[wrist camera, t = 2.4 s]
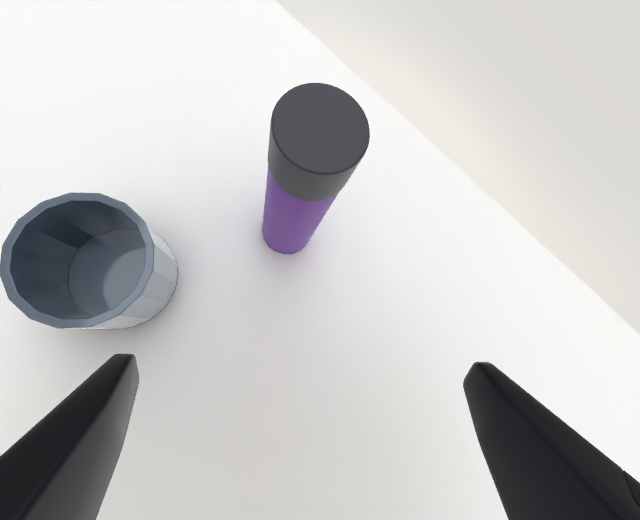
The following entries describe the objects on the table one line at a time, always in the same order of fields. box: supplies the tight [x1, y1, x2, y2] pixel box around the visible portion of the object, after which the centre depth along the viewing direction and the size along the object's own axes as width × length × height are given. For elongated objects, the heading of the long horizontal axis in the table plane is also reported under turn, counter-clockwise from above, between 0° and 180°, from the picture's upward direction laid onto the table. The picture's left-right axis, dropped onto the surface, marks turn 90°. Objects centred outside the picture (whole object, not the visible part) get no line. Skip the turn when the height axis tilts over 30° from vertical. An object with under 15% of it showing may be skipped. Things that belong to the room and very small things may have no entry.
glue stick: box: [262, 83, 370, 254], centre depth 18 cm, size 3×3×12 cm
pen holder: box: [0, 193, 178, 329], centre depth 18 cm, size 6×6×6 cm
